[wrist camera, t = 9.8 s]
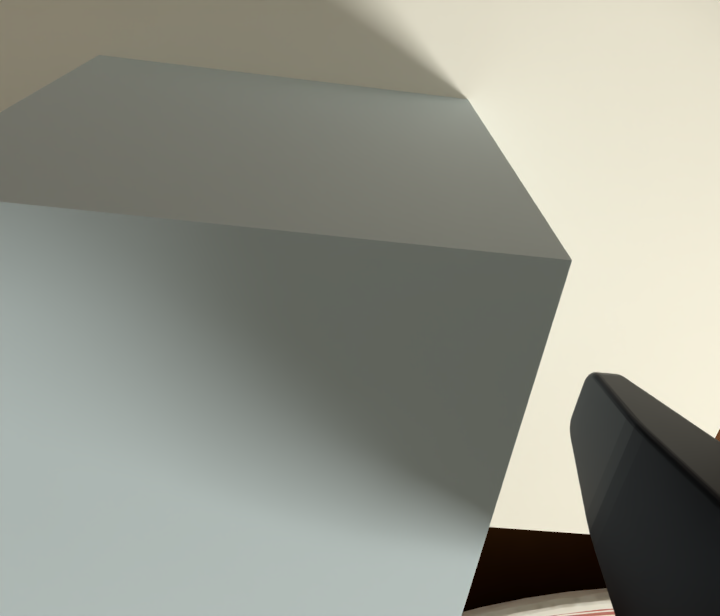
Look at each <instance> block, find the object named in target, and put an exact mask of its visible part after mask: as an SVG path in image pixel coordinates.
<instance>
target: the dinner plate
mask: <svg viewBox="0 0 720 616" xmlns="http://www.w3.org/2000/svg"><path fill="white" fill-rule="evenodd" d="M462 616H615V613H614V610H613V607H612V604H611V600H610V597H609V594H608V591H607V588H604V589H593V590H581V591H570V592H562V593H555V594H549V595H542V596H536V597H529V598H523V599H518V600H514V601H509V602H504V603H499V604H494V605H489V606H484V607H480V608H476V609H473V610H469V611H465V612H463V613H462Z"/></svg>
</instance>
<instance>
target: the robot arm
mask: <svg viewBox="0 0 720 616" xmlns="http://www.w3.org/2000/svg"><path fill="white" fill-rule="evenodd" d="M570 438H571V443H572V448H573V453H574V458H575V464H576V469H577V474H578V479H579V484H580V489H581V495H582V500H583V505H584V510H585V515H586V520H587V524H588V529H589V533H590V536H591V540H592V543H593V547H594V550H595V553H596V556H597V560H598V563H599V566H600V569H601V572H602V575H603V578H604V582H605V585H606V588H607V591H608V594H609V597H610V600H611V604H612V607H613V610H614V613H615V616H720V442H719V441H718V440H717V439H715V438H714V437H712V436H711V435H709V434H708V433H706V432H705V431H703V430H702V429H700V428H699V427H697V426H696V425H694V424H693V423H691V422H690V421H689V420H687V419H686V418H684V417H683V416H681V415H680V414H678V413H677V412H675V411H674V410H672V409H671V408H669V407H668V406H666V405H665V404H663V403H662V402H660V401H659V400H658V399H656V398H655V397H653V396H652V395H650V394H649V393H647V392H646V391H644V390H643V389H641V388H640V387H638V386H637V385H635V384H634V383H632V382H631V381H629V380H628V379H627V378H625V377H624V376H622V375H619V374H613V373H602V372H593V373H591V374H589V375H588V376H587V377H586V379H585V381H584V383H583V386H582V389H581V392H580V395H579V397H578V400H577V403H576V406H575V408H574V411H573V414H572V417H571V421H570Z"/></svg>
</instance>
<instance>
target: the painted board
mask: <svg viewBox="0 0 720 616" xmlns="http://www.w3.org/2000/svg"><path fill="white" fill-rule="evenodd" d="M98 55H103V56H111V57H120V58H128V59H136V60H145V61H153V62H161V63H170V64H178V65H186V66H195V67H203V68H212V69H220V70H228V71H237V72H245V73H253V74H262V75H270V76H278V77H287V78H295V79H303V80H312V81H320V82H328V83H337V84H345V85H354V86H362V87H370V88H379V89H387V90H395V91H404V92H412V93H420V94H429V95H437V96H445V97H454V98H462V99H468V100H469V102H470V103H471V105H472V106H473V108H474V110H475V111H476V113H477V114H478V116H479V117H480V119H481V120H482V122H483V123H484V125H485V126H486V128H487V130H488V131H489V133H490V134H491V136H492V137H493V139H494V140H495V142H496V143H497V145H498V147H499V148H500V150H501V151H502V153H503V154H504V156H505V157H506V159H507V160H508V162H509V164H510V165H511V167H512V168H513V170H514V171H515V173H516V174H517V176H518V177H519V179H520V181H521V182H522V184H523V185H524V187H525V188H526V190H527V191H528V193H529V194H530V196H531V198H532V199H533V201H534V202H535V204H536V205H537V207H538V208H539V210H540V211H541V213H542V215H543V216H544V218H545V219H546V221H547V222H548V224H549V225H550V227H551V228H552V230H553V232H554V233H555V235H556V236H557V238H558V239H559V241H560V242H561V244H562V245H563V247H564V249H565V250H566V252H567V253H568V255H569V256H570V258H571V259H572V262H571V265H570V269H569V272H568V275H567V278H566V282H565V285H564V288H563V291H562V294H561V298H560V301H559V304H558V307H557V310H556V314H555V317H554V320H553V323H552V327H551V330H550V333H549V336H548V339H547V343H546V346H545V349H544V352H543V355H542V359H541V362H540V365H539V368H538V372H537V375H536V378H535V381H534V384H533V388H532V391H531V394H530V397H529V400H528V404H527V407H526V410H525V413H524V417H523V420H522V423H521V426H520V429H519V433H518V436H517V439H516V442H515V445H514V449H513V452H512V455H511V458H510V462H509V465H508V468H507V471H506V474H505V478H504V481H503V484H502V487H501V491H500V494H499V497H498V500H497V503H496V507H495V510H494V513H493V516H492V519H491V523H490V526H489V527H496V528H509V529H523V530H537V531H551V532H565V533H579V534H590V533H589V529H588V524H587V520H586V515H585V510H584V505H583V500H582V495H581V489H580V484H579V479H578V474H577V469H576V464H575V458H574V453H573V448H572V443H571V438H570V421H571V417H572V414H573V411H574V408H575V406H576V403H577V400H578V397H579V395H580V392H581V389H582V386H583V383H584V381H585V379H586V377H587V376H588V375H589V374H591V373H593V372H602V373H613V374H619V375H622V376H624V377H625V378H627V379H628V380H629V381H631V382H632V383H634V384H635V385H637V386H638V387H640V388H641V389H643V390H644V391H646V392H647V393H649V394H650V395H652V396H653V397H655V398H656V399H658V400H659V401H660V402H662V403H663V404H665V405H666V406H668V407H669V408H671V409H672V410H674V411H675V412H677V413H678V414H680V415H681V416H683V417H684V418H686V419H687V420H689V421H690V422H691V423H693V424H694V425H696V426H697V427H699V428H700V429H702V430H703V431H705V432H706V433H708V434H709V435H711V436H712V437H714V438H715V437H716V435H717V433H718V431H719V429H720V0H0V112H2V111H3V110H5V109H7V108H9V107H10V106H12V105H14V104H15V103H17V102H19V101H21V100H22V99H24V98H26V97H28V96H29V95H31V94H33V93H34V92H36V91H38V90H40V89H41V88H43V87H45V86H46V85H48V84H50V83H52V82H53V81H55V80H57V79H59V78H60V77H62V76H64V75H65V74H67V73H69V72H71V71H72V70H74V69H76V68H77V67H79V66H81V65H83V64H84V63H86V62H88V61H90V60H91V59H93V58H95V57H96V56H98Z"/></svg>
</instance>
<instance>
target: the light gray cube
mask: <svg viewBox="0 0 720 616" xmlns="http://www.w3.org/2000/svg"><path fill="white" fill-rule="evenodd" d="M571 262H572V259H571V258H570V256H569V255H568V253H567V252H566V250H565V249H564V247H563V245H562V244H561V242H560V241H559V239H558V238H557V236H556V235H555V233H554V232H553V230H552V228H551V227H550V225H549V224H548V222H547V221H546V219H545V218H544V216H543V215H542V213H541V211H540V210H539V208H538V207H537V205H536V204H535V202H534V201H533V199H532V198H531V196H530V194H529V193H528V191H527V190H526V188H525V187H524V185H523V184H522V182H521V181H520V179H519V177H518V176H517V174H516V173H515V171H514V170H513V168H512V167H511V165H510V164H509V162H508V160H507V159H506V157H505V156H504V154H503V153H502V151H501V150H500V148H499V147H498V145H497V143H496V142H495V140H494V139H493V137H492V136H491V134H490V133H489V131H488V130H487V128H486V126H485V125H484V123H483V122H482V120H481V119H480V117H479V116H478V114H477V113H476V111H475V110H474V108H473V106H472V105H471V103H470V102H469V100H468V99H462V98H454V97H445V96H437V95H429V94H420V93H412V92H404V91H395V90H387V89H379V88H370V87H362V86H354V85H345V84H337V83H328V82H320V81H312V80H303V79H295V78H287V77H278V76H270V75H262V74H253V73H245V72H237V71H228V70H220V69H212V68H203V67H195V66H186V65H178V64H170V63H161V62H153V61H145V60H136V59H128V58H120V57H111V56H103V55H98V56H96V57H95V58H93V59H91V60H90V61H88V62H86V63H84V64H83V65H81V66H79V67H77V68H76V69H74V70H72V71H71V72H69V73H67V74H65V75H64V76H62V77H60V78H59V79H57V80H55V81H53V82H52V83H50V84H48V85H46V86H45V87H43V88H41V89H40V90H38V91H36V92H34V93H33V94H31V95H29V96H28V97H26V98H24V99H22V100H21V101H19V102H17V103H15V104H14V105H12V106H10V107H9V108H7V109H5V110H3V111H2V112H0V616H462V613H463V609H464V606H465V603H466V600H467V597H468V593H469V590H470V587H471V584H472V581H473V577H474V574H475V571H476V568H477V564H478V561H479V558H480V555H481V552H482V548H483V545H484V542H485V539H486V536H487V532H488V529H489V526H490V523H491V519H492V516H493V513H494V510H495V507H496V503H497V500H498V497H499V494H500V491H501V487H502V484H503V481H504V478H505V474H506V471H507V468H508V465H509V462H510V458H511V455H512V452H513V449H514V445H515V442H516V439H517V436H518V433H519V429H520V426H521V423H522V420H523V417H524V413H525V410H526V407H527V404H528V400H529V397H530V394H531V391H532V388H533V384H534V381H535V378H536V375H537V372H538V368H539V365H540V362H541V359H542V355H543V352H544V349H545V346H546V343H547V339H548V336H549V333H550V330H551V327H552V323H553V320H554V317H555V314H556V310H557V307H558V304H559V301H560V298H561V294H562V291H563V288H564V285H565V282H566V278H567V275H568V272H569V269H570V265H571Z"/></svg>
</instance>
